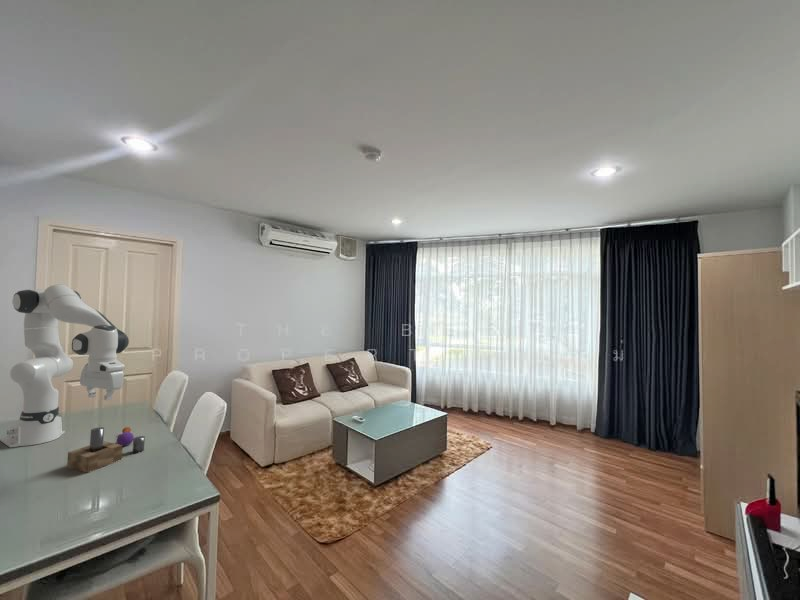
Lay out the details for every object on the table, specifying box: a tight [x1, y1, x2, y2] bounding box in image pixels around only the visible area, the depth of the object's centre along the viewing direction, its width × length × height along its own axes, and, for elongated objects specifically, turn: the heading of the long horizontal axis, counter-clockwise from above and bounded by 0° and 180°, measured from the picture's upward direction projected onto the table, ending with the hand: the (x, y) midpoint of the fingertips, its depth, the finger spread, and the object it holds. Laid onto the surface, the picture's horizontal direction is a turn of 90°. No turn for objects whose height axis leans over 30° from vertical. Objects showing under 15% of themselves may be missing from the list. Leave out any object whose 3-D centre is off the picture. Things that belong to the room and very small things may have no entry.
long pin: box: [89, 426, 105, 453], centre depth 133 cm, size 4×4×14 cm
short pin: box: [132, 435, 146, 454], centre depth 146 cm, size 4×4×6 cm
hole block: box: [66, 440, 124, 473], centre depth 133 cm, size 12×12×6 cm
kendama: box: [116, 426, 135, 447], centre depth 157 cm, size 6×6×20 cm
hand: (99, 398), depth 134 cm, fingers open, 8 cm apart
